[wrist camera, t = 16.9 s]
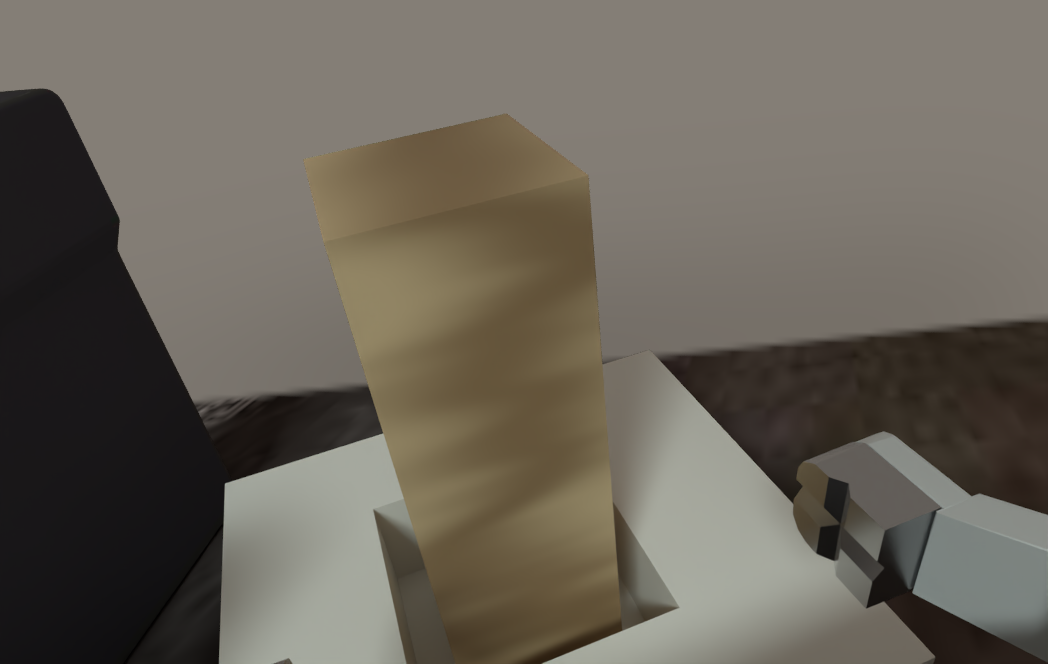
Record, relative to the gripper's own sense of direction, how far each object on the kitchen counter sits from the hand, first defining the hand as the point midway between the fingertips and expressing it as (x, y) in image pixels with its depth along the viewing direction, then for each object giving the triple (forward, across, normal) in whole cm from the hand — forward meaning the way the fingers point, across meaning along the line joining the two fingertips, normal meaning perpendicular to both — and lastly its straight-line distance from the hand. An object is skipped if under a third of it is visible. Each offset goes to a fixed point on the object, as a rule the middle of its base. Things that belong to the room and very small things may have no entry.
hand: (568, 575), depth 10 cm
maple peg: (+5, 0, +8) cm, 9 cm away
